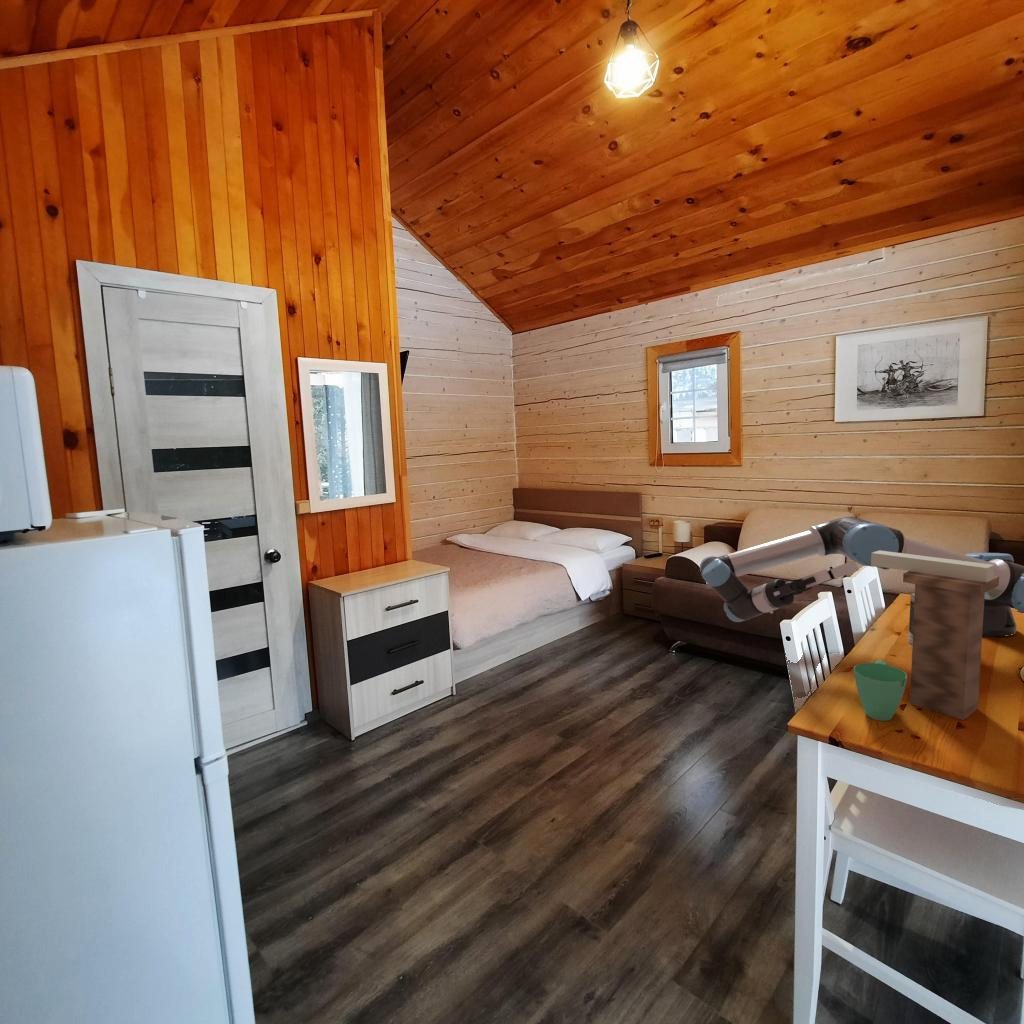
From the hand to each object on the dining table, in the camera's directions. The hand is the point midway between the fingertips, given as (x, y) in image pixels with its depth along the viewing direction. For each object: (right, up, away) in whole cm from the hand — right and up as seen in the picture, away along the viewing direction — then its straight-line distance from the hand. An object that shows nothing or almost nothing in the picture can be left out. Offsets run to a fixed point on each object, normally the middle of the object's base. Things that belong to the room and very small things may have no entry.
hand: (842, 569), depth 144 cm
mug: (-1, -30, -16) cm, 34 cm away
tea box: (+34, -24, +13) cm, 44 cm away
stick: (+10, +1, -17) cm, 19 cm away
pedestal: (+13, -29, -16) cm, 36 cm away
